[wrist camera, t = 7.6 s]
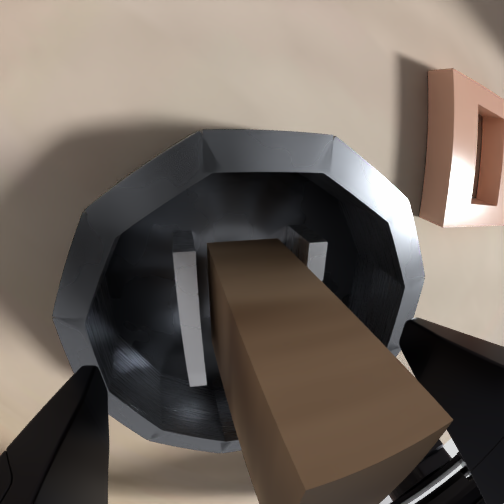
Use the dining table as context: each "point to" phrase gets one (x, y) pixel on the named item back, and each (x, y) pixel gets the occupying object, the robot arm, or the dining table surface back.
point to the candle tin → (196, 266)
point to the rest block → (463, 153)
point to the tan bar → (311, 383)
